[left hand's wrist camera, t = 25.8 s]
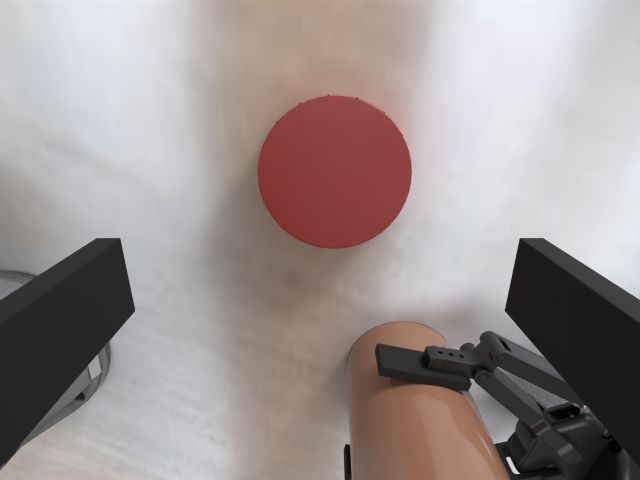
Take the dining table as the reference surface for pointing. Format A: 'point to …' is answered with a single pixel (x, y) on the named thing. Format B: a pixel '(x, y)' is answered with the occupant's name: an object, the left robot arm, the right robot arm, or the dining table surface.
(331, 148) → the lid
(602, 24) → the dining table surface
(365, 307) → the dining table surface
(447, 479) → the jar
